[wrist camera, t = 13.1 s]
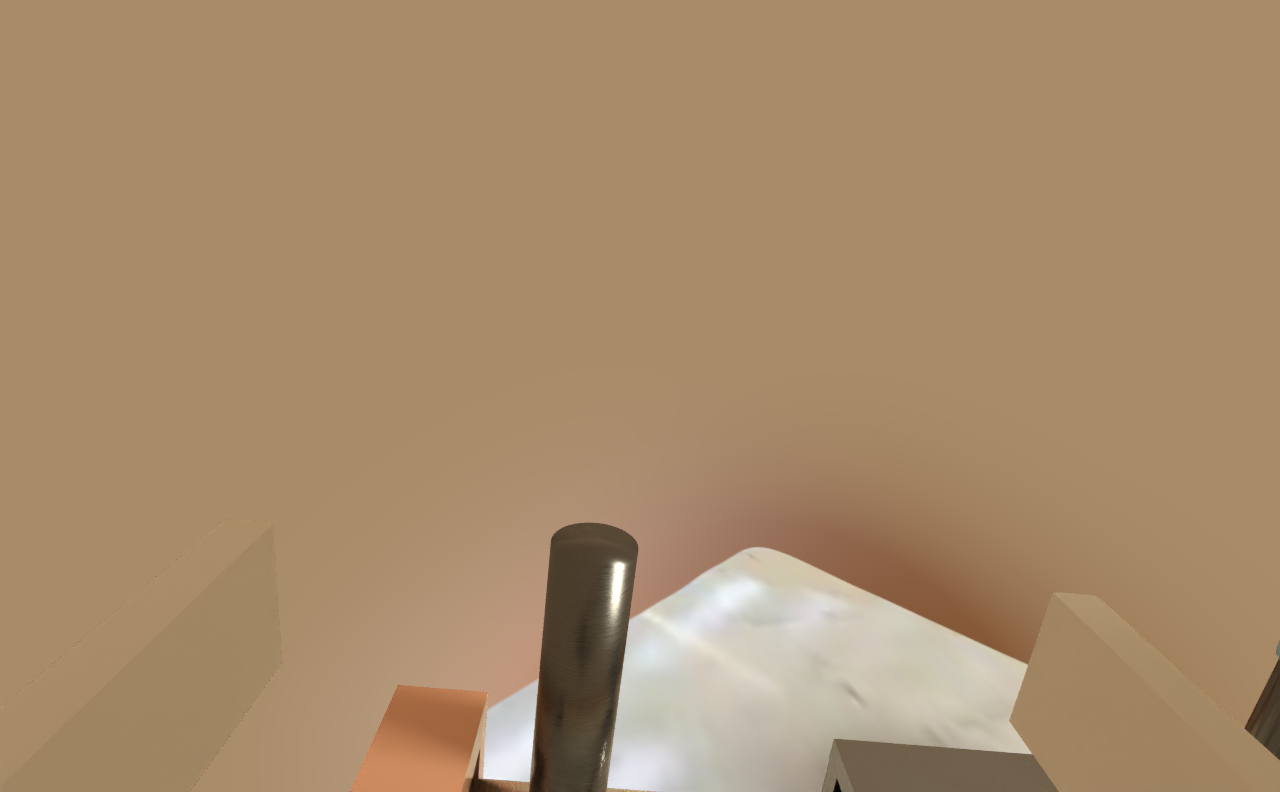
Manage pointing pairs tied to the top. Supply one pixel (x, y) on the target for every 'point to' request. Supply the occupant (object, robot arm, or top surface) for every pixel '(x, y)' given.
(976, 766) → the box on wooden plank
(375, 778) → the socket
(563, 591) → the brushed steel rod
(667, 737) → the top surface
